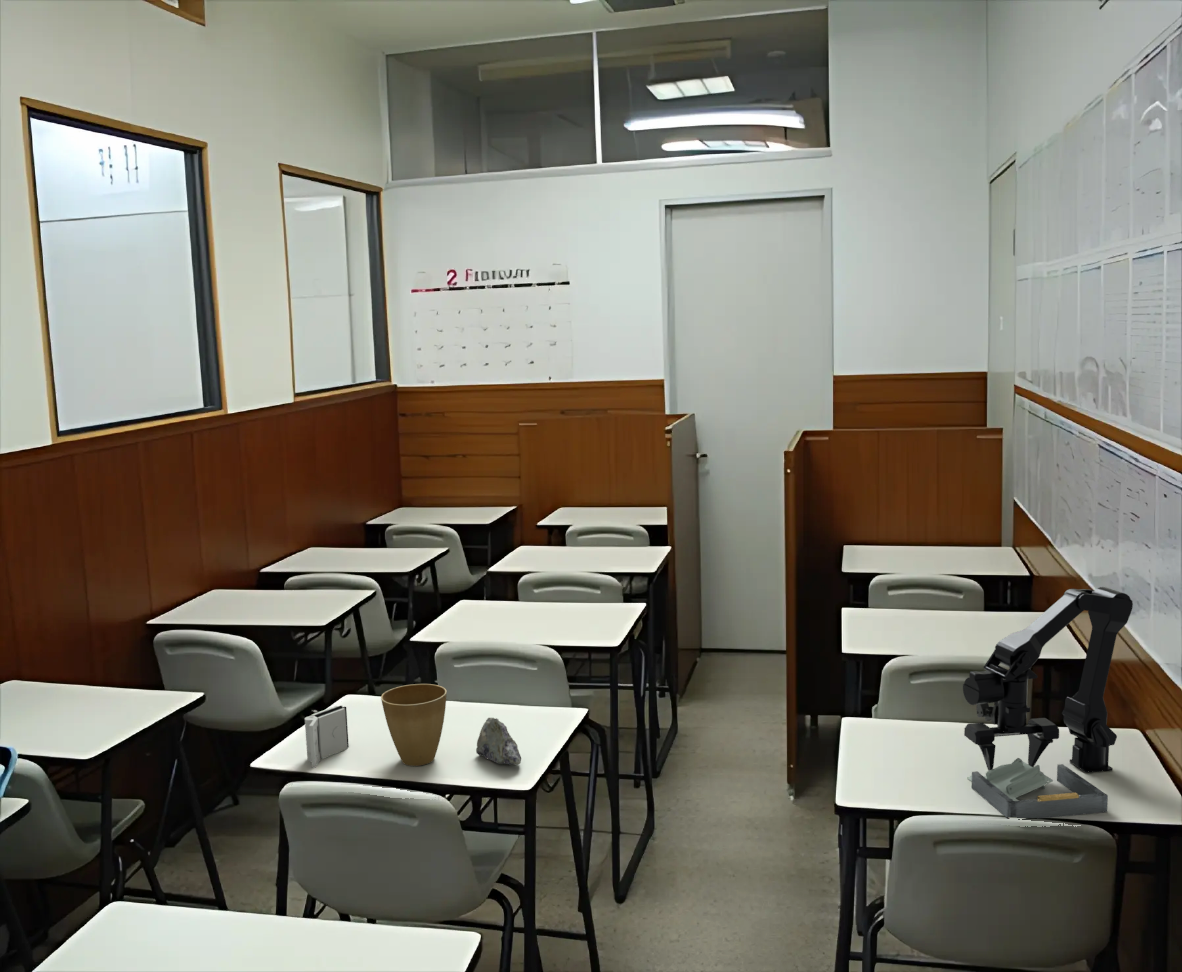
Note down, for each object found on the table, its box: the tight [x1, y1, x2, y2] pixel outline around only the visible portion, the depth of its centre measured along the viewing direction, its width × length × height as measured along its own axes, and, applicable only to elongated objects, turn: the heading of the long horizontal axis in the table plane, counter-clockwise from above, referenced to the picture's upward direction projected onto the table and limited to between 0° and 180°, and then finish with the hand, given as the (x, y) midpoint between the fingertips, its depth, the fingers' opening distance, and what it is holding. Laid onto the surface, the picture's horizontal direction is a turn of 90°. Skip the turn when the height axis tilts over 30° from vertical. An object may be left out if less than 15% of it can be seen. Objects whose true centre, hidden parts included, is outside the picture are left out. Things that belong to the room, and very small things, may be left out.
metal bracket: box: [966, 757, 1054, 801], centre depth 230 cm, size 14×6×15 cm
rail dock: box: [971, 763, 1109, 819], centre depth 224 cm, size 20×16×4 cm
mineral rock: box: [475, 717, 522, 766], centre depth 251 cm, size 13×11×10 cm
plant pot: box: [380, 683, 448, 767], centre depth 253 cm, size 15×15×16 cm
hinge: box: [304, 705, 350, 769], centre depth 258 cm, size 13×8×10 cm, turn 0°
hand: (1010, 769), depth 235 cm, fingers open, 9 cm apart
